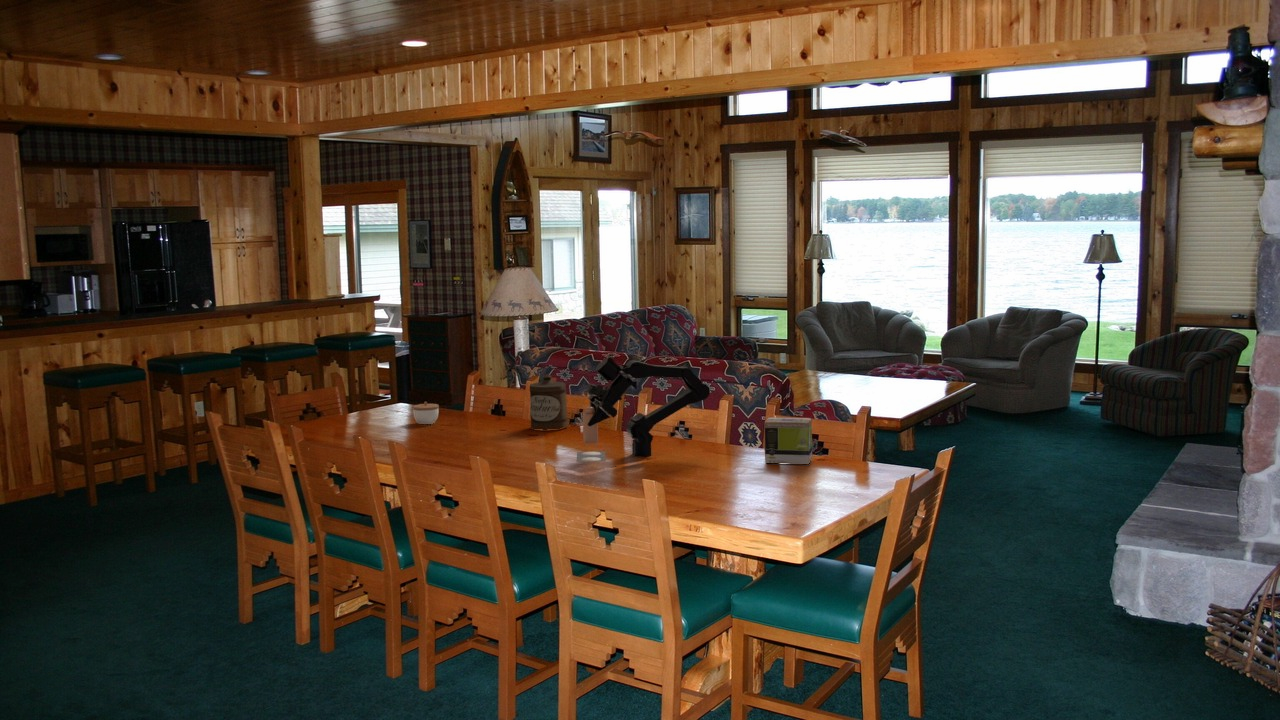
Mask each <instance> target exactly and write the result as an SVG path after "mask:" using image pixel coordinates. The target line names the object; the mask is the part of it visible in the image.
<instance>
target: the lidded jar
mask: <svg viewBox="0 0 1280 720" xmlns="http://www.w3.org/2000/svg"><path fill="white" fill-rule="evenodd" d="M439 408H440V406H439V404H438V403H428V401H424V402H423V403H419V404H415V405H413V406H412V411H413V412H412V413H413V418H414V420H415V421H416V422H417V423H418V424H431V425H433V423H434V424H435V422H436V421H437V420H438V417H439V410H440V409H439Z"/></svg>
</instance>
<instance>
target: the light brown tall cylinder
mask: <svg viewBox="0 0 1280 720" xmlns="http://www.w3.org/2000/svg"><path fill="white" fill-rule="evenodd" d="M584 411H585V412H582V433H583V435H582V436H583V437H582V438H583V444H592V445H593V444H598V443H599V430H598V429H599V427H598V426H599V424H598V423H599V422H598V423H596V424H594V425H592V426H588V425H587V424H588V422H589V421H590V419H591V418H592V416H593V415H594V413H595V408H594V407H590V406H586V407H584Z"/></svg>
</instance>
